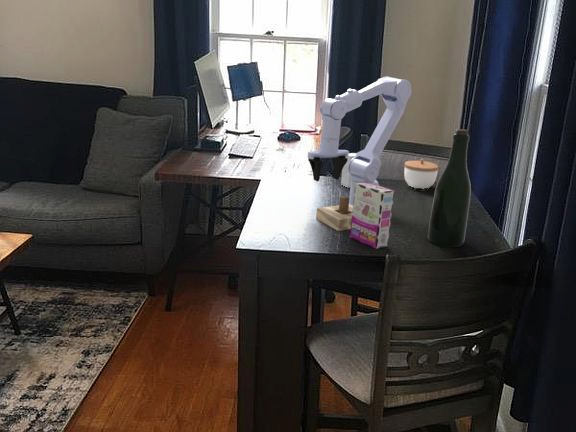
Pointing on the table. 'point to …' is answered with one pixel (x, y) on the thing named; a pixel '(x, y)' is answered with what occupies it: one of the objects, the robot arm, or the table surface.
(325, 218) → the holder block
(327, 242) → the table surface
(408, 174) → the lidded bowl
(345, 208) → the peg
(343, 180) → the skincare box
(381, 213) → the candy bar box
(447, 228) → the beer bottle
